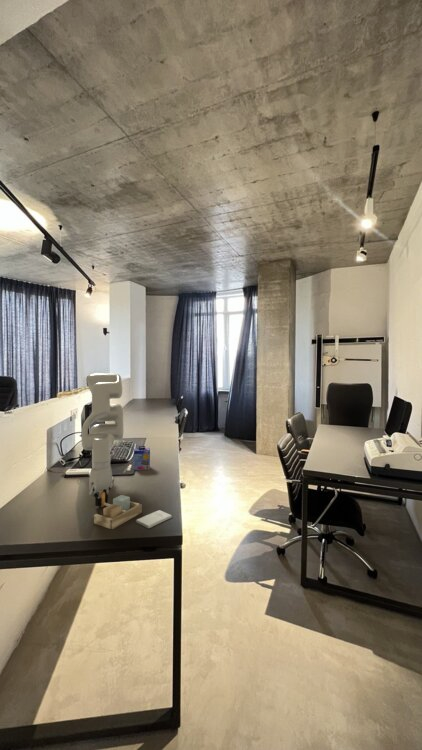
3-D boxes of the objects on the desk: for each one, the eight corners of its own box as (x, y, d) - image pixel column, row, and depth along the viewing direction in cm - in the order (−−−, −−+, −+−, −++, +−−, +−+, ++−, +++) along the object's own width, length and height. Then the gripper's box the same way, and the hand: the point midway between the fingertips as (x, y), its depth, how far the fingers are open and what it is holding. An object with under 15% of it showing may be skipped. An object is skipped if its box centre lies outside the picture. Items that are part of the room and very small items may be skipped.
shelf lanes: (94, 523, 135) (93, 514, 134) (124, 507, 150) (124, 499, 150) (112, 529, 130) (112, 520, 130) (141, 512, 145) (141, 504, 145)
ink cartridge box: (133, 470, 202) (133, 447, 201) (133, 467, 207) (133, 444, 207) (150, 469, 204) (150, 446, 204) (149, 466, 210) (149, 443, 209)
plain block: (103, 523, 135) (103, 508, 135) (112, 518, 139) (112, 504, 139) (112, 526, 133) (112, 511, 132) (121, 520, 137) (121, 506, 137)
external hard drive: (135, 523, 136) (159, 513, 145) (148, 529, 131) (171, 518, 140) (135, 519, 136) (158, 509, 145) (148, 525, 131) (171, 514, 140)
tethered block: (95, 507, 149) (94, 493, 149) (103, 502, 153) (103, 490, 153) (121, 515, 141) (121, 501, 141) (129, 510, 146) (129, 497, 145)
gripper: (108, 458, 159) (108, 496, 159) (80, 468, 144) (81, 509, 145) (120, 461, 155) (120, 499, 156) (93, 471, 141) (93, 513, 141)
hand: (101, 504), depth 150 cm, fingers closed on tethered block, 3 cm apart
